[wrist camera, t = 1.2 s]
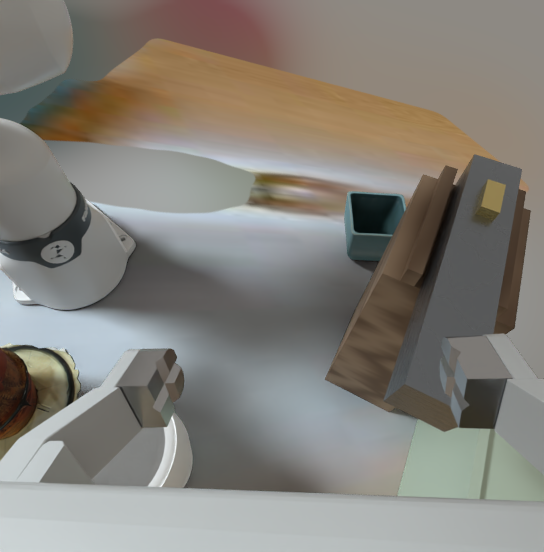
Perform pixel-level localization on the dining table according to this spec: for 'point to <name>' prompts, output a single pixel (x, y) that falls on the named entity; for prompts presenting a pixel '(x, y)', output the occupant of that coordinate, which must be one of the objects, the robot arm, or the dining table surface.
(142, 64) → the dining table surface
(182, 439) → the jar
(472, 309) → the steel bar
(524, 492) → the low sage block
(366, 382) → the tall walnut block
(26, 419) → the decorative vase
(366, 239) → the flower pot
